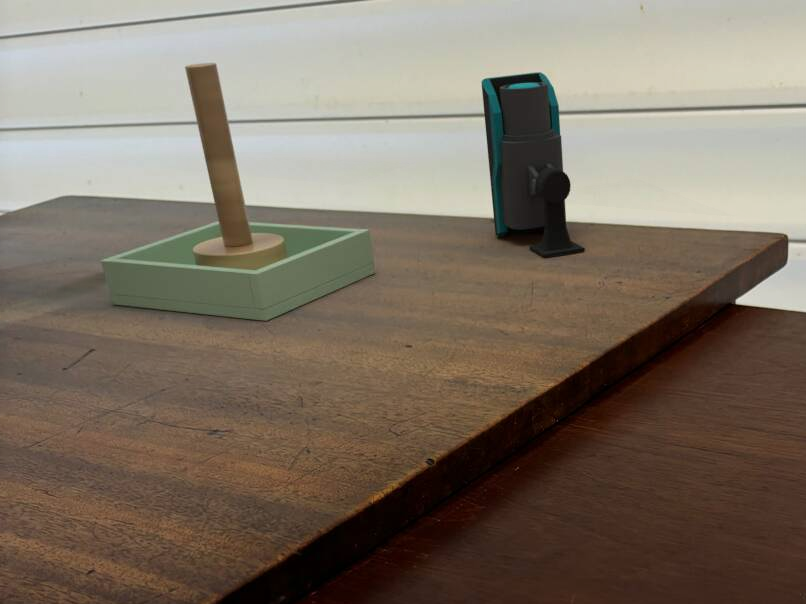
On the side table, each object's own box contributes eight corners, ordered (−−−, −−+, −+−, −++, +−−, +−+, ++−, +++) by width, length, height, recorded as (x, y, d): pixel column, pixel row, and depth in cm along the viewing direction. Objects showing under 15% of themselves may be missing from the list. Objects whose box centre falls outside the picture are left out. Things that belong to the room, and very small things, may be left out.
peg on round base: (182, 286, 91) (129, 71, 83) (250, 264, 96) (207, 58, 87) (241, 296, 88) (192, 72, 79) (309, 273, 92) (270, 58, 84)
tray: (112, 304, 91) (100, 260, 89) (229, 261, 101) (220, 220, 99) (266, 321, 85) (256, 273, 83) (375, 273, 94) (369, 229, 92)
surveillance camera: (519, 90, 88) (478, 79, 95) (532, 259, 95) (493, 236, 102) (588, 81, 89) (543, 71, 97) (596, 249, 96) (553, 227, 104)
